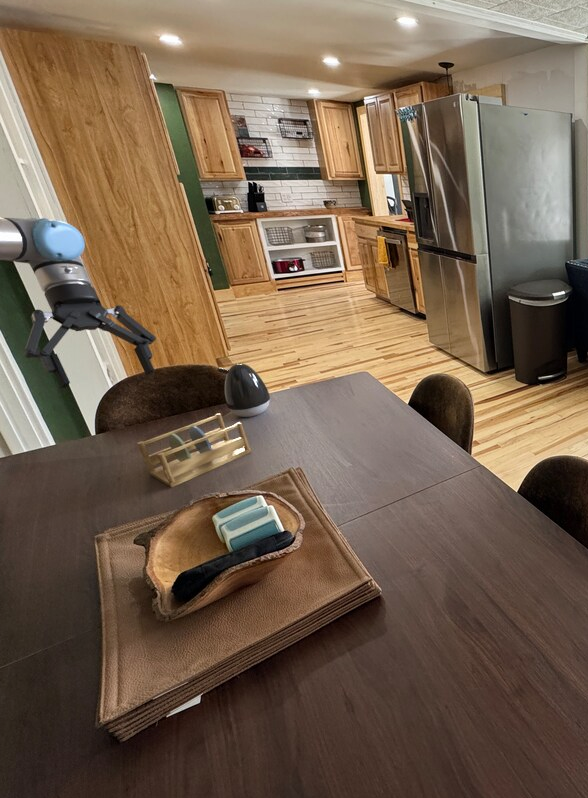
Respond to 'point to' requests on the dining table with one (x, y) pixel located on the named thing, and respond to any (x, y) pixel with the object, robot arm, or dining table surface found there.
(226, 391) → the pump dispenser
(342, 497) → the dining table surface
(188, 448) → the dish rack
